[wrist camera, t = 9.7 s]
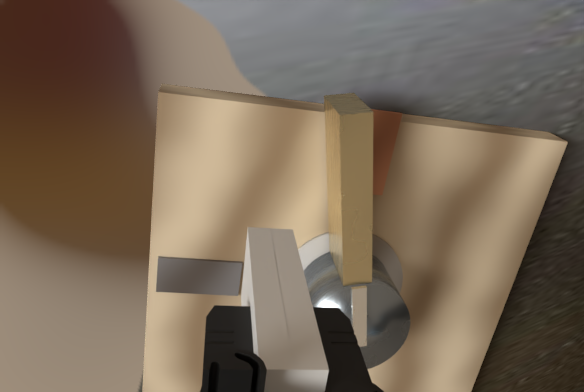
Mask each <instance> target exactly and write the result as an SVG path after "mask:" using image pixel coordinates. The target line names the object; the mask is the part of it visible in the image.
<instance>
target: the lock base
mask: <svg viewBox="0 0 584 392" xmlns="http://www.w3.org/2000/svg"><path fill="white" fill-rule="evenodd" d="M371 110H372V111H373V229H372V254H373V255H374V256H376V257H377V258H378V259H379V260H380V261H381V262H382V263H383V265H384V266H385V268H386V270H387V272H388V273H389V275H390V277H391V279H392V281H393V282H394V284H395V286H396V288H397V290H398V292H399V293H400V295H401V297H402V299H403V301H404V302H405V304H406V306H407V308H408V311H409V314H410V330H409V333H408V336H407V338H406V340H405V342H404V344H403V345H402V347H401V348H400V349H399V350H398V351H397V352H396V353H395V354H394V355H393V356H392V357H391V358H390V359H388V360H387V361H385V362H383V363H382V364H380V365H378V366H375V367H373V368H370V369H368V372H369V375H370V378H371V381H372V383H374V384H376V385H377V386H378V387H379V388H380V389H382V390H383V391H384V392H471V391H472V388H473V385H474V383H475V380H476V378H477V375H478V373H479V370H480V367H481V365H482V362H483V360H484V357H485V355H486V352H487V349H488V347H489V344H490V342H491V339H492V337H493V334H494V331H495V329H496V326H497V324H498V321H499V318H500V316H501V313H502V311H503V308H504V306H505V303H506V300H507V298H508V295H509V293H510V290H511V288H512V285H513V282H514V280H515V277H516V275H517V272H518V270H519V267H520V264H521V262H522V259H523V257H524V254H525V251H526V249H527V246H528V244H529V241H530V239H531V236H532V233H533V231H534V228H535V226H536V223H537V221H538V218H539V215H540V213H541V210H542V208H543V205H544V203H545V200H546V197H547V195H548V192H549V190H550V187H551V184H552V182H553V179H554V177H555V174H556V172H557V169H558V166H559V164H560V161H561V159H562V156H563V154H564V151H565V148H566V146H567V143H568V142H567V141H565V140H563V139H561V138H559V137H557V136H555V135H553V134H551V133H550V132H545V131H537V130H529V129H521V128H513V127H505V126H497V125H489V124H481V123H473V122H465V121H457V120H449V119H441V118H433V117H425V116H417V115H409V114H402V113H399V112H391V111H383V110H375V109H371ZM248 227H257V228H275V229H293V232H294V236H295V240H296V244H297V247H298V251H299V255H300V259H301V263H302V267H303V271H304V270H305V269H306V267H307V266H308V265H309V264H310V263H311V262H312V261H314V260H315V259H316V258H318V257H320V256H321V255H323V254H325V253H328V252H330V251H329V228H328V198H327V168H326V139H325V109H324V104H321V103H313V102H305V101H297V100H289V99H281V98H273V97H265V96H256V95H249V94H241V93H233V92H225V91H217V90H208V89H201V88H192V87H185V86H177V85H169V84H162V85H161V87H160V90H159V92H158V109H157V127H156V147H155V167H154V184H153V202H152V222H151V240H150V241H151V242H150V260H149V278H148V296H147V315H146V316H147V317H146V334H145V353H144V372H143V390H142V392H200V390H201V387H202V374H203V358H204V342H205V327H206V316H207V315H208V314H209V312H210V311H211V309H212V308H213V307H214V305H221V306H241V292H242V282H243V271H244V261H245V250H246V240H247V230H248Z"/></svg>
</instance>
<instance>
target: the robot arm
mask: <svg viewBox="0 0 584 392" xmlns="http://www.w3.org/2000/svg"><path fill="white" fill-rule="evenodd" d="M200 392H384V391H383V390H382V389H380V388H379V387H378V386H377V385H376V384H374V383H372V381H371V378H370V375H369V372H368V369H367V367H366V364H365V361H364V358H363V355H362V352H361V350H360V347H359V345H358V341H357V338H356V336H355V334H354V330H353V327H352V324H351V321H350V319H349V318H348V317H347V316H346V315H345V314H344V313H343V312H342V311H341V310H340V309H339V308H328V307H313V306H312V302H311V298H310V294H309V290H308V286H307V282H306V279H305V275H304V271H303V267H302V263H301V259H300V255H299V251H298V247H297V244H296V240H295V236H294V232H293V229H275V228H257V227H248V230H247V240H246V250H245V261H244V271H243V282H242V292H241V306H221V305H214V307H213V308H212V309H211V311H210V312H209V314H208V315H207V316H206V327H205V342H204V358H203V374H202V387H201V390H200Z"/></svg>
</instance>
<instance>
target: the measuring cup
mask: <svg viewBox="0 0 584 392" xmlns="http://www.w3.org/2000/svg"><path fill="white" fill-rule="evenodd" d="M324 109H325V139H326V168H327V198H328V228H329V251H330V252H328V253H325V254H323V255H321V256H320V257H318V258H316V259H315V260H314V261H312V262H311V263H310V264H309V265H308V266H307V267H306V269H305V270H304V275H305V279H306V282H307V286H308V290H309V294H310V298H311V302H312V306H313V307H328V308H339V309H340V310H341V311H342V312H343V313H344V314H345V315H346V316H347V317H348V318H349V319H350V321H351V324H352V327H353V330H354V334H355V336H356V338H357V341H358V345H359V347H360V350H361V352H362V355H363V358H364V361H365V364H366V367H367V369H370V368H373V367H375V366H378V365H380V364H382V363H383V362H385V361H387V360H388V359H390V358H391V357H392V356H393V355H394V354H395V353H396V352H397V351H398V350H399V349H400V348H401V347H402V345H403V344H404V342H405V340H406V338H407V336H408V333H409V330H410V314H409V311H408V308H407V306H406V304H405V302H404V301H403V299H402V297H401V295H400V293H399V292H398V290H397V288H396V286H395V284H394V282H393V281H392V279H391V277H390V275H389V273H388V272H387V270H386V268H385V266H384V265H383V263H382V262H381V261H380V260H379V259H378V258H377V257H376V256H374V255H373V254H372V229H373V111H372V110H371V109H370V108H369V107H368V106H367V105H366V104H365V103H364V102H363V101H362V100H361V99H360V98H359V97H357V96H356V95H355V94H354V93H347V94H336V95H325V96H324Z"/></svg>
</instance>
